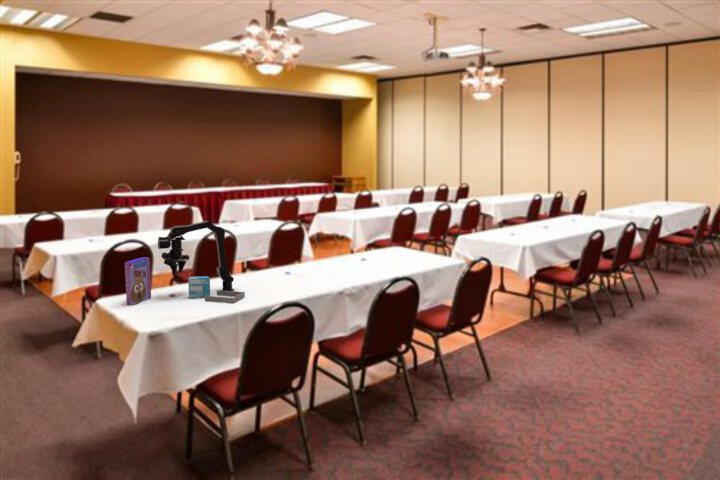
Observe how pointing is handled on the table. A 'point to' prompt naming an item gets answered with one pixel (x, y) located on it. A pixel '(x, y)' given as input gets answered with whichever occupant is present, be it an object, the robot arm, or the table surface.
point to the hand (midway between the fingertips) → (177, 273)
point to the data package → (199, 287)
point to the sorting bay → (235, 298)
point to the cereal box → (138, 280)
